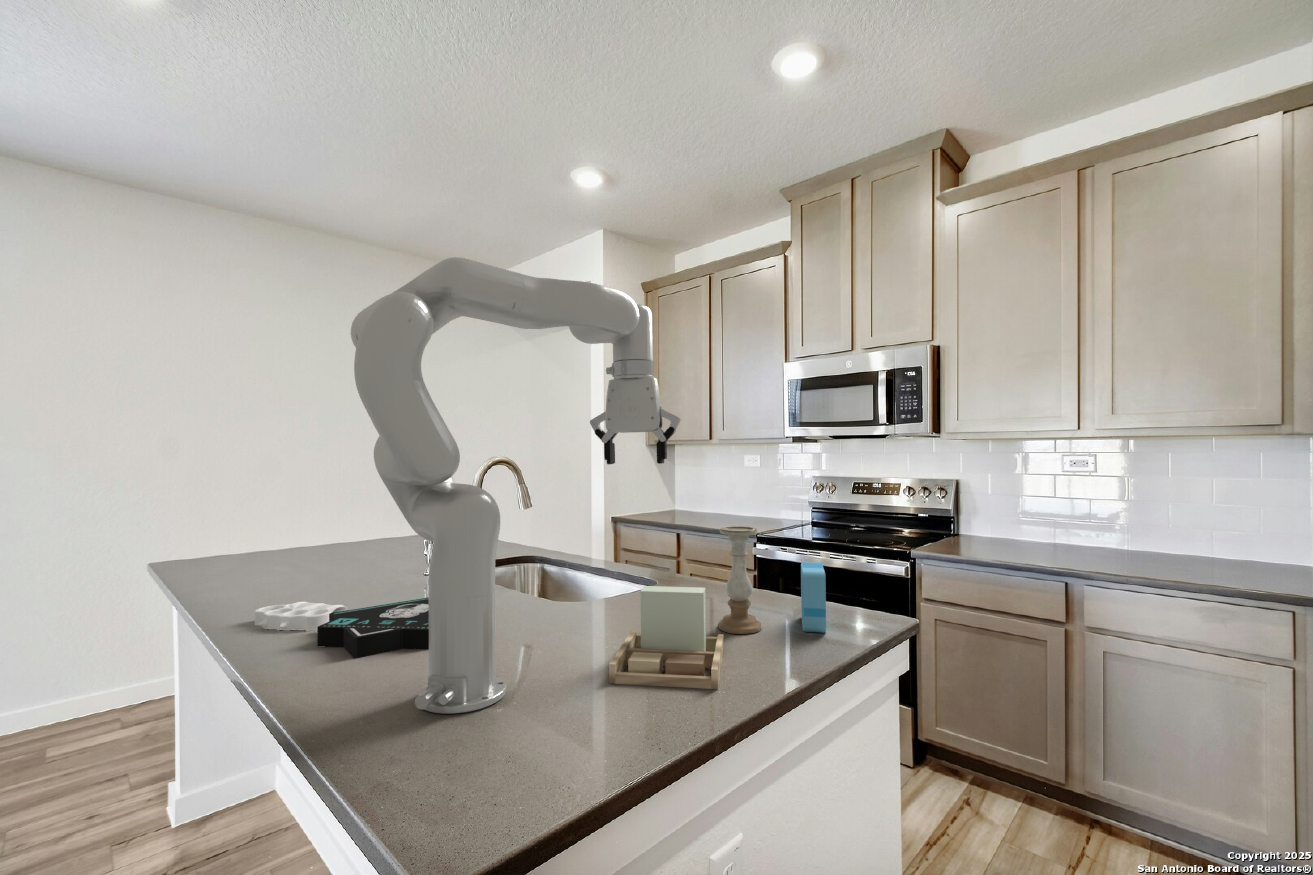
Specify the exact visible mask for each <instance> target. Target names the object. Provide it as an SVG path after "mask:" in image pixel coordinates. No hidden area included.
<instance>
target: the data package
mask: <svg viewBox="0 0 1313 875" xmlns="http://www.w3.org/2000/svg"><path fill="white" fill-rule="evenodd" d="M826 584H827V583H826V572H825V569H824V565H823V563H821V562H820V563H814V562H801V564H800V589H801V590H800V593H801V594H800V595H801V597H800V598H801V599H800V600H801V601H800V604H801V610H800V611H801V625H802V626H801V627H802V628H801V630H802V631H803V632H807V633H826V632H827V602H826V601H827V595H826V594H827V592H826V590H827V589H826V588H827V587H826Z"/></svg>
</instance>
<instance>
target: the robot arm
mask: <svg viewBox="0 0 1313 875" xmlns="http://www.w3.org/2000/svg"><path fill="white" fill-rule="evenodd" d="M461 317H465V318H466V317H467V318H471V319H474V320H475V319H476V320H481V321H486V322H491V323H495V324H500V325H503V326H505V325H506V326H509V327H513V328H517V329H522V330H523V329H524V330H544V329H552V328H559V327H561V328H562V327H569V331H570V333H571V335H572V336H573V337H574V338H575V339H577V341H579V342H581V343H585V344H589V345H590V344H591V345H597V344H612V364H611V366H609V367H606V369H605V372H606V375H610V376H612V379H609V380H608V385H607V391H606V399H605V400H606V401H605V411H604V412H602V413H600V414H599V415H597V416H595V417H593V418H591V419H590V420H589V424H590V426H591V428H592V430H593V431H594V434H595V435H596V436H597V438H598V439H599V440H600V441H601V442H602V443H603V455H604V456H603V457H604V460H605V461H606V464H607V465H614V464H615V463H616V447H615V443H614V439H615V437H617V435H618V434H620V433H621V434H622V433H623V434H624V433H625V434H627V433H653V435H655V437H656V438H657V440H658V441H657V442H656V463H657V464H659V465H660V464H661V465H662V464H664V463H665V460H667V459H668V458H667V457H668V448H667V447H668V446H667V445H668V443H667V442H668V441H669V439H671V438H672V436H674V434H675V433H676V430H677V428H678V426H679V425H680V423H681V421H682V420H681V417H679V416H678V415H676V414H674V413H671V412H669V411H667V410H665V409H663V408H662V401H661V400H662V399H661V393H660V386H659V382H658V379H657V377H654V376H655V375H654V342H653V340H654V338H653V337H654V334H653V313H652V310H651V309H650V308H649V307H648V306H647V305H644V304H639V303H638V304H637V303H636V302H635V300H634V299H633V298H632V297H631V296H630V295H628V294H627V293H625V292H624V291H621V290H618V289H615V288H611V287H608V286H606V285H601V284H597V283H593V282H589V281H580V280H569V279H558V278H551V277H550V278H549V277H535V276H531V275H526V274H525V273H524V274H522V273H521V272H515V271H512V270H509V269H505V268H503V267H498V266H495V265H491V264H487V263H483V262H481V261H477V260H474V259H473V260H472V259H469V258H465V257H459V256H458V257H456V256H455V257H448V258H444V259H443V260H441V261H439V262H438V263H436V264H434V265H433V266H431V267H429V268H428V269H426V270H425V271H423V272H421V273H420V274H419V275H417V276H416V277H414V278H413V279H412V280H410V281H409V282H407V283H406V284H404V285H402V286H401V287H400V288H398V289H396V290H395V291H393V292H391V293H389V294H387V295H384V296H383V297H380V298H379V299H377V300H375V301H374V302H373V303H371V304H370V305H368V306H367V307H365V308H364V309H362V310H361V311H359V312H358V313H357V315H356V316H355V317H354V319H353V321H352V322H351V328H350V338H351V341H352V343H353V346H354V348H355V353H354V361H353V363H354V364H353V374H354V381H355V388H356V389H357V392H358V396H359V398H360V401H361V402H362V404H363V407H364V409H365V411H366V412H367V414H368V416H369V418H370V421H371V423H372V424H373V426H374V429H375V430H376V432H377V434H378V437H377V439H376V442H375V444H374V448H373V461H374V464H375V469H376V471H377V473H378V475H379V477H380V479H381V481H382V482H383V484H384V485H385V487H386V489H387V490H388V492H389V494H390V496H391V498H392V499H393V501H394V502H395V504H396V506H397V507H398V509H399V511H400V512H401V514H402V515H403V517H404V519H405V520H406V522H407V523H408V525H409V526H410V527H411V530H413V531H414V532H415V533H416V534H417V535H418V536H419V537H420V538H423V539H425V540H426V541H427V540H428V541H430V542H432V543H433V544H432V545H433V546H432V552H431V555H430V556H431V557H430V561H429V567H428V579H427V582H428V584H427V585H428V586H427V587H428V588H427V589H428V590H427V594H428V597H429V650H428V676H427V684H425V685H424V686H423V687H422V688H421V689H420V690H419V691H418V693H417V696H416V697H415V698H414V705H415V707H416V709H418V710H424V711H426V712H430V713H435V714H443V715H445V714H447V715H449V714H452V715H453V714H462V713H469V712H474V711H478V710H481V709H484V708H487V707H489V706H491V705H493V704H496V703H497V702H498V701H500V700H501V699H502V698H503V697H504V696H505V695H506V694H507V682H506V681H505V680H504V679H503V678H501V676H498V675H496V665H497V664H496V662H497V660H496V656H497V655H496V559H497V547H498V542H499V537H500V536H499V535H500V530H501V512H500V508H499V506H498V503H497V502H496V499H495V498H494V497H493V496H492V495H491V493H489V492H488V491H486V490H485V489H483V488H481V487H479V486H476V485H474V484H473V485H472V484H467V483H466V484H465V483H459V482H458V483H456V482H455V481H454V479H453V476H454V475H455V473H456V472H457V471H458V468H459V466H460V461H461V455H460V449H459V447H458V446H459V445H458V443H457V442H456V440H455V438H454V436H453V434H452V433H451V430H450V429H449V427H448V426H447V424H446V422H445V420H444V419H443V417H442V415H441V412H440V411H439V409H438V408H437V406H436V404H435V402H434V400H433V399H432V396H431V395H430V392H429V390H428V387H427V386H426V383H425V381H424V378H423V372H422V359H423V355H424V351H425V349H426V347H427V345H428V343H429V342H430V340H431V338H432V336H433V335H434V334H435V333H436V332H438V331H439V330H441V329H442V328H443V327H445V326H446V325H447V324H449V323H450V322H452V321H454V320H456V319H459V318H461ZM663 419H667V420H668V421H670V424H669V426H668V428H667V429H666V430H665V431H664V430H663V429H662V428H663ZM603 422H604V424H605V429H606V430H607V431H606V432H605V431H604V430H603V428H602V427H601V423H603Z"/></svg>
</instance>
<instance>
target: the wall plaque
mask: <svg viewBox="0 0 1313 875" xmlns="http://www.w3.org/2000/svg"><path fill="white" fill-rule="evenodd" d="M316 631H317V633H316V634H317V635H316V637H317V642H316V644H317V646H325V647H324V648H343V649H344V650H345V651H346V652H347V653H348V655H350V656H351V657H352V658H353V659H361V658H366V657H372V656H375V655H380V654H385V653H389V652H390V653H391V652H394V651H399V650H426V651H427V650H428V651H429V596H427V597H424V598H416V599H411V600H405V601H398V602H393V603H392V602H391V603H386V604H380V605H374V606H373V605H372V606H367V607H366V606H365V607H361V608H355V609H354V608H352V609H349V610H347V611H341V612H334V613H330V614H329V622H327V623H325V624H322V625H320V626H318V627H317V630H316ZM317 646H316V647H317Z"/></svg>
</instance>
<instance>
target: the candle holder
mask: <svg viewBox="0 0 1313 875" xmlns="http://www.w3.org/2000/svg"><path fill="white" fill-rule="evenodd" d="M719 533H720V534H721V535H725V536H727V537H728V538H727V540H728V541H729V543H730V544H731V549H730V551H729V553H728V554H729V556H731V570H730V571H731V572H730V575H729V577H728V580H727V583H726V585H725V591H726V594H727V596H728V597H729V600H728V601H727V605H728V606H729V609H730V613H727V614H725V615H724V616H722V619H720V620H719V621H718V622H717V627H718V629H719V630H720V631H722V632H725V633H728V634H735V635H736V634H737V635H747V634H754V633H758V632H759V631H761V630H762V623H761V621H759V619H757V618H756V616H754V615H753V614H749V609H750V606H751V605H752V601H751V600H749V598H750V597H751V596H752V593H753V585H752V582H751V580H750V578H749V575H748V572H747V564H746V560H747V558H746V557H747V556H749V553H748V551H747V550H746V549H747V548H746V545H747V543H748V542H749V540H750V538H749V536H754V535H757V534H758V529H757V528H756V527H753V526H741V525H738V526H736V525H735V526H734V525H733V526H732V525H731V526H724V527H720V529H719Z"/></svg>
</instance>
